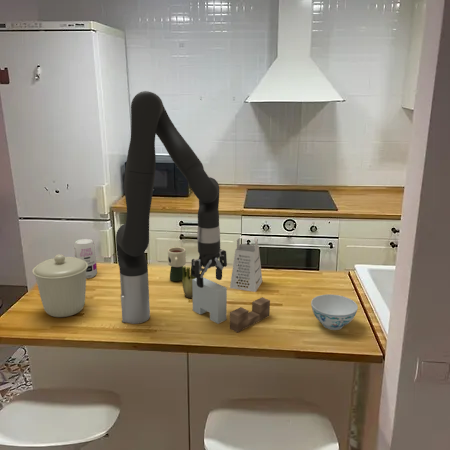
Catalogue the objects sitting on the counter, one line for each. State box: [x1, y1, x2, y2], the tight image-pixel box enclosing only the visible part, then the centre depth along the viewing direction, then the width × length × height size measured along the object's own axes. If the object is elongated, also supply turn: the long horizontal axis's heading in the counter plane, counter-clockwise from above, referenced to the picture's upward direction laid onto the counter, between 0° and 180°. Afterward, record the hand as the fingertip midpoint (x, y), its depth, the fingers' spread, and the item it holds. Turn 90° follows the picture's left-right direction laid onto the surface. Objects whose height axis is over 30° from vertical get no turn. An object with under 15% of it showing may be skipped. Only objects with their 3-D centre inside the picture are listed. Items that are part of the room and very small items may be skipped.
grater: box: [229, 235, 263, 293], centre depth 184 cm, size 10×10×20 cm
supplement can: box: [73, 238, 98, 279], centre depth 193 cm, size 8×8×15 cm
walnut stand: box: [229, 296, 271, 333], centre depth 157 cm, size 16×4×6 cm, turn 134°
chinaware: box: [310, 293, 359, 331], centre depth 155 cm, size 15×15×8 cm
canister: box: [31, 253, 88, 318], centre depth 162 cm, size 18×18×21 cm
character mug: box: [167, 246, 187, 282], centre depth 189 cm, size 11×7×13 cm, turn 3°
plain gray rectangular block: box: [192, 276, 228, 325], centre depth 161 cm, size 4×13×12 cm, turn 44°
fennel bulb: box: [181, 265, 196, 299], centre depth 175 cm, size 6×5×12 cm
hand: (209, 283), depth 159 cm, fingers open, 8 cm apart
